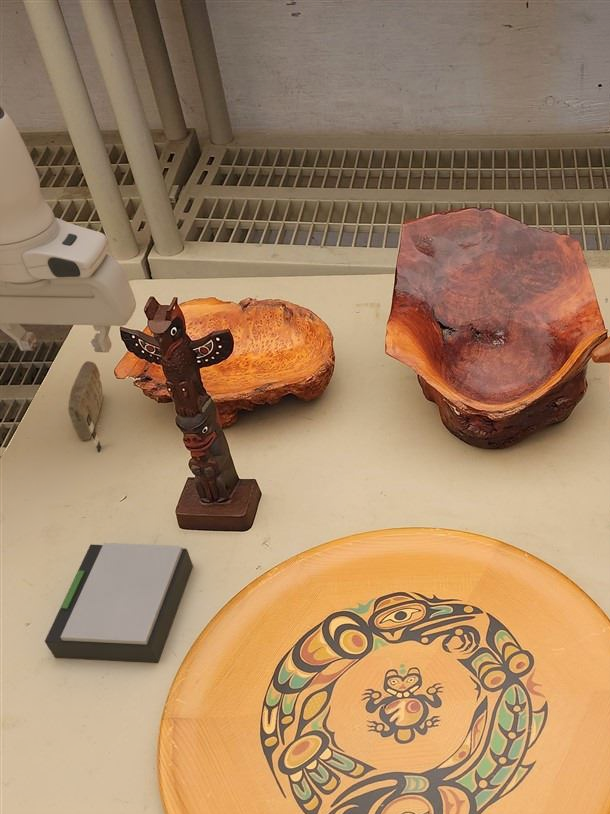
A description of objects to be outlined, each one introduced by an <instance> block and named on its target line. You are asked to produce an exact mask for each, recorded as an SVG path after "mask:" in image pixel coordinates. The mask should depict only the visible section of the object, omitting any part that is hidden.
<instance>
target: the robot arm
mask: <svg viewBox="0 0 610 814" xmlns="http://www.w3.org/2000/svg"><path fill="white" fill-rule="evenodd" d="M109 249H110V242H109V240H108V238H107V236H106V234H104V233H103V232H100V231H97V230H94V229H90V228H87V227H83V226H80V225H77V224H74V223H71V222H68V221H66V220H64V219H61V218H58V217H55V213H54V211H53V210H52V208H51V206H50V205H49V204H48V202H47V201H46V200H45V198H44V196H43V194H42V190H41V180H40V177H39V174H38V171H37V169H36V166H35V164H34V161H33V159H32V157H31V154H30V152H29V150H28V148H27V145H26V144H25V142H24V140H23V137H22V136H21V134H20V132H19V130H18V128H17V127H16V125H15V123H14V121H13V120H12V119H11V117H10V115H9V114H8V113H7V111H5V109H4V108H3V107H2V106H0V330H1V331H2V332H3V333H5V335H7V336H8V337H10V338H11V339H12V340H13V341H15V342H16V344H17V346H18V348H19V350H20V351H21V352H35V350H36V349H35V348H37V347H38V345H39V344H38V343H39V342H38V339H37V338H36V336H35V333H34V332H33V331H27V330H25V328H24V327H23V326H22V325H51V326H52V325H53V326H54V325H62V326H92V327H93V329H94V331H95V332H97V333H95V335H94V337H93V338H92V340H91V341H90V342H91V345H92V347H93V348H94V349H93V350H94V352H95V353H109V352H110V351H111V348H112V341H111V338H110V336H109V334H110V330H111V327H123V326H126V325H127V323H128V322H129V321H130V320H131V318H132V316H133V315H134V313H135V311H136V308H137V301H136V297H135V295H134V292H133V289H132V286H131V284H130V281H129V279H128V277H127V276H126V273H125V272H124V271H125V270H123V269H124V268H123V267H122V266H121V264H120V263H119V262H118V260H116V259H115V257H113V256H112V255H110V254H107V253H108V251H109Z"/></svg>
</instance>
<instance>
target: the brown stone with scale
mask: <svg viewBox="0 0 610 814" xmlns="http://www.w3.org/2000/svg"><path fill="white" fill-rule="evenodd" d="M103 392H104V391H103V384H102V381H101V373H100V371H99V368H98V366H97V364H96V363H95V362H93V361H85V362H84V363H83V364H82V366H81V367H80V368H79V371H78V374H77V376H76V378H75V380H74V383H73V384H72V387H71V390H70V394H69V399H68V404H67V411H68V416H69V419H70V422H71V424H72V427H73V430H74V431H75V433H76V435H77V437H78V439H79V440H81V441H89V440H90V439H91V438H92V439H93V441H94V444H95V448H96V451H97V452H98V453H100V452H101V449H102V444H101V442H100V439H99V437H98V434H97V430H96V429H95V427H96V423H97V421H98V418H99V415H100V414H99V413H100V409H101V407H102V404H103V399H104V393H103Z"/></svg>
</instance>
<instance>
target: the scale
mask: <svg viewBox="0 0 610 814" xmlns="http://www.w3.org/2000/svg"><path fill="white" fill-rule="evenodd" d="M193 566H194V563H193V561H192V559H191V556H190V553H189V551H188V549H187V548H183V547H182V546H181V545H162V544H139V543H138V544H137V543H115V542H104V543H103V544H90V545H89V547H88V549H87V550H86V552H85V555H84V557H83V560H82V562H81V564H80V566H79V568H78V570H77V571H76V574H75V577H74V579H73V580H72V582H71V584H70V587H69V589H68V591H67V593H66V595H65V597H64V599H63V602H62V604H61V606H60V608H59V610H58V612H57V615H56V616H55V618H54V621H53V623H52V625H51V627H50V629H49V631H48V633H47V636H46V637H45V640H44V643H45V645H46V646H47V647H48V649H49V651H50V653H51V655H52V656H53V657H54V658H56V659H57V658H58V659H73V660H74V659H76V660H94V661H96V660H97V661H112V662H113V661H115V662H137V663H153V664H154V663H156V664H157V663H158V664H159V661H160V658H161V656H162V653H163V650H164V647H165V645H166V642H167V639H168V636H169V635H170V631H171V628H172V625H173V623H174V620H175V617H176V615H177V612H178V608H179V606H180V603H181V600H182V597H183V595H184V592H185V589H186V587H187V584H188V581H189V578H190V575H191V572H192V569H193Z"/></svg>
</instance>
